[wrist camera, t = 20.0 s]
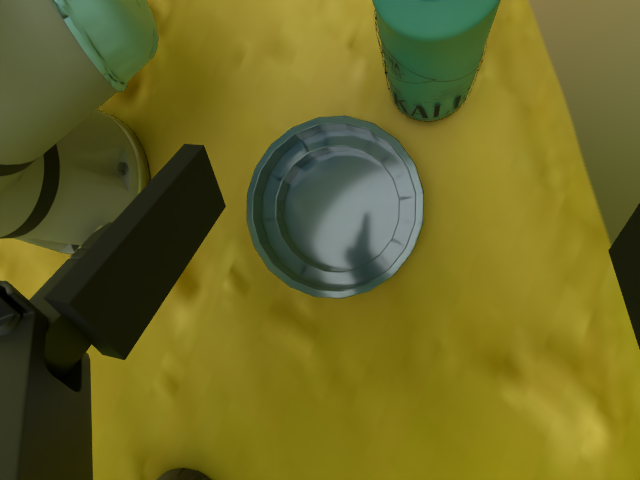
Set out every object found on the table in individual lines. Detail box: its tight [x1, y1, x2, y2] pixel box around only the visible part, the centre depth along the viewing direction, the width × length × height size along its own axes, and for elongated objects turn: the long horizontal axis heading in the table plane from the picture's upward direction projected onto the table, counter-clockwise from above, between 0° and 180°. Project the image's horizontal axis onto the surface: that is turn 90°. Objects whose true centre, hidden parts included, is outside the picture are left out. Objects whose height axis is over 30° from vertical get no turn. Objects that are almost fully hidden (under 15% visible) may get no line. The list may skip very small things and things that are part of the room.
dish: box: [247, 116, 424, 298], centre depth 32 cm, size 14×14×4 cm
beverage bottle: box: [372, 0, 500, 122], centre depth 22 cm, size 6×7×20 cm
